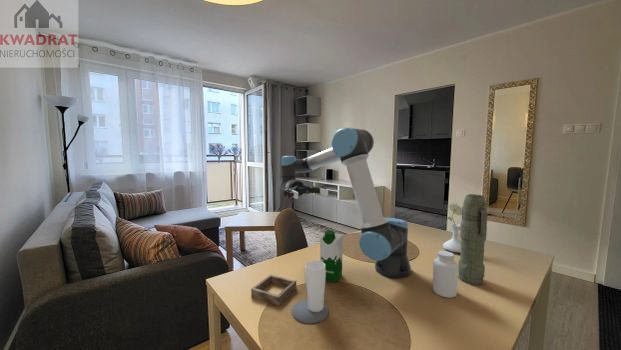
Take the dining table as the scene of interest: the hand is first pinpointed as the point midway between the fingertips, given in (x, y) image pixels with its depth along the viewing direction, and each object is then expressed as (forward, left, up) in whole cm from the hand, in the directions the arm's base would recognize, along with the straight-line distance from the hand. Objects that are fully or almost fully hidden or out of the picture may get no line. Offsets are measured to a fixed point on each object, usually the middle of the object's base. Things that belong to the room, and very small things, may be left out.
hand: (312, 194), depth 102 cm
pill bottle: (-49, -10, -35) cm, 62 cm away
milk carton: (-7, -2, -35) cm, 36 cm away
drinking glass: (-11, +20, -35) cm, 42 cm away
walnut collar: (+8, +18, -35) cm, 40 cm away
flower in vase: (-55, -58, -35) cm, 88 cm away
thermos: (-59, -25, -35) cm, 74 cm away
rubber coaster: (-9, +22, -35) cm, 42 cm away
